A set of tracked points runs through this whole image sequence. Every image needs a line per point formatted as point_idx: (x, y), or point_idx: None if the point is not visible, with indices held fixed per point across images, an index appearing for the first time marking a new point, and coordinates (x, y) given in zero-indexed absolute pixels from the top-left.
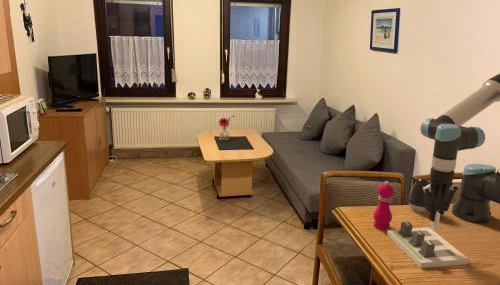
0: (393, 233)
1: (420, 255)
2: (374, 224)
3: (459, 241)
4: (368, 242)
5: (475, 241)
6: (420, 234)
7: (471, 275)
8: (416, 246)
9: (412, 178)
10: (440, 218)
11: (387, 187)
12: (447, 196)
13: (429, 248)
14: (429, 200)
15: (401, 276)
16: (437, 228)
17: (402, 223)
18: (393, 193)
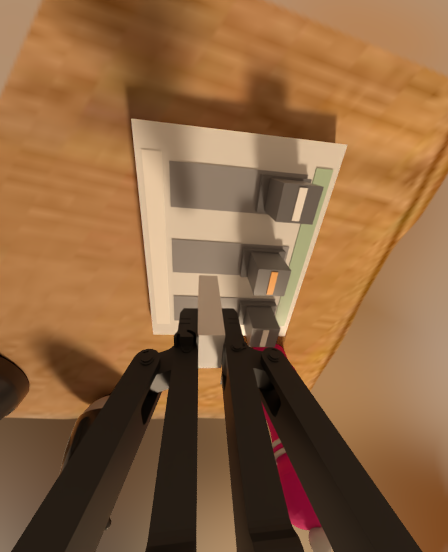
0: (284, 319)
1: None
2: None
3: (84, 266)
4: (355, 302)
5: (22, 257)
6: (276, 271)
7: (176, 23)
8: (275, 248)
9: (109, 522)
10: (184, 317)
11: None
12: (96, 519)
13: (301, 183)
14: (347, 463)
15: (440, 111)
16: (202, 280)
17: (275, 341)
18: (284, 476)
